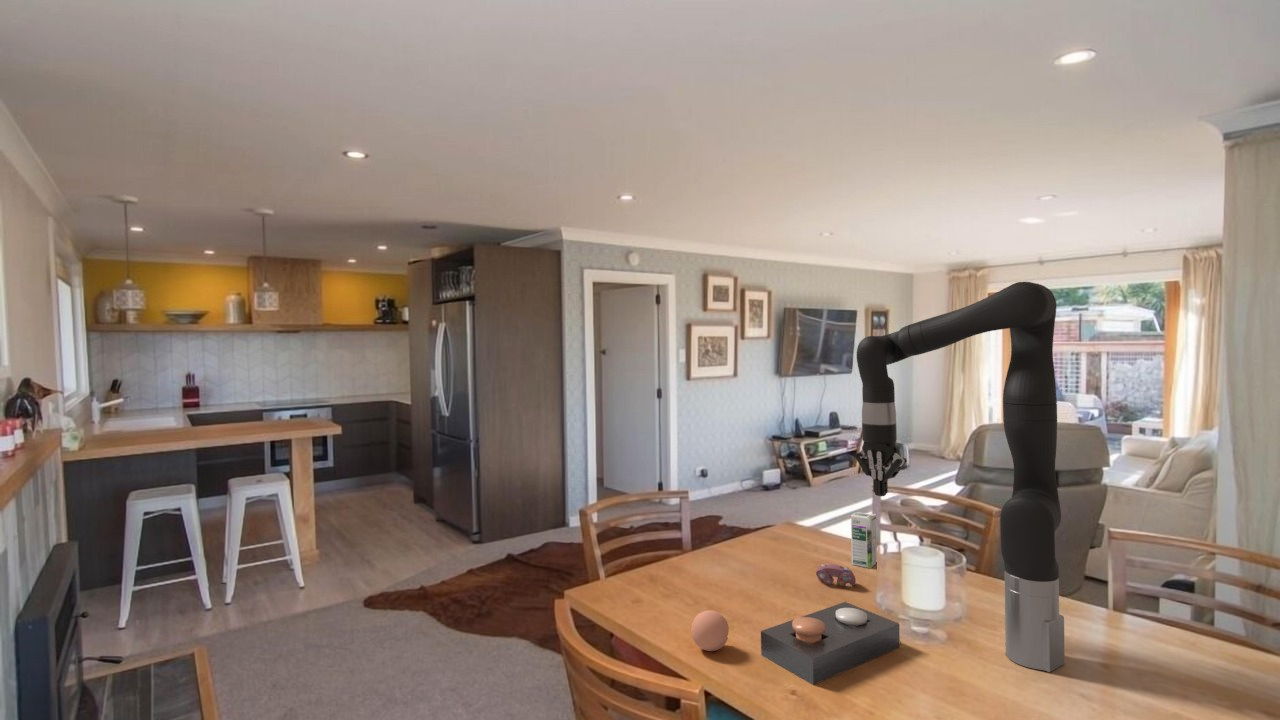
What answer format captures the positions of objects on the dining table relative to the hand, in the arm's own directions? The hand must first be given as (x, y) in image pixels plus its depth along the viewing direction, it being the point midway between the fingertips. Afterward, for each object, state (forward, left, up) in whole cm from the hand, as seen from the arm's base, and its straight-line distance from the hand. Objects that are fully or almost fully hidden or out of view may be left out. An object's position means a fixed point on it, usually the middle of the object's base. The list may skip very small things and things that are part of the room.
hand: (880, 495), depth 146 cm
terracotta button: (-5, +30, -27) cm, 40 cm away
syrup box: (+25, -26, -29) cm, 46 cm away
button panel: (-5, +23, -28) cm, 37 cm away
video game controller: (+19, -7, -29) cm, 35 cm away
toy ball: (+10, +43, -29) cm, 53 cm away
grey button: (-5, +17, -28) cm, 33 cm away
